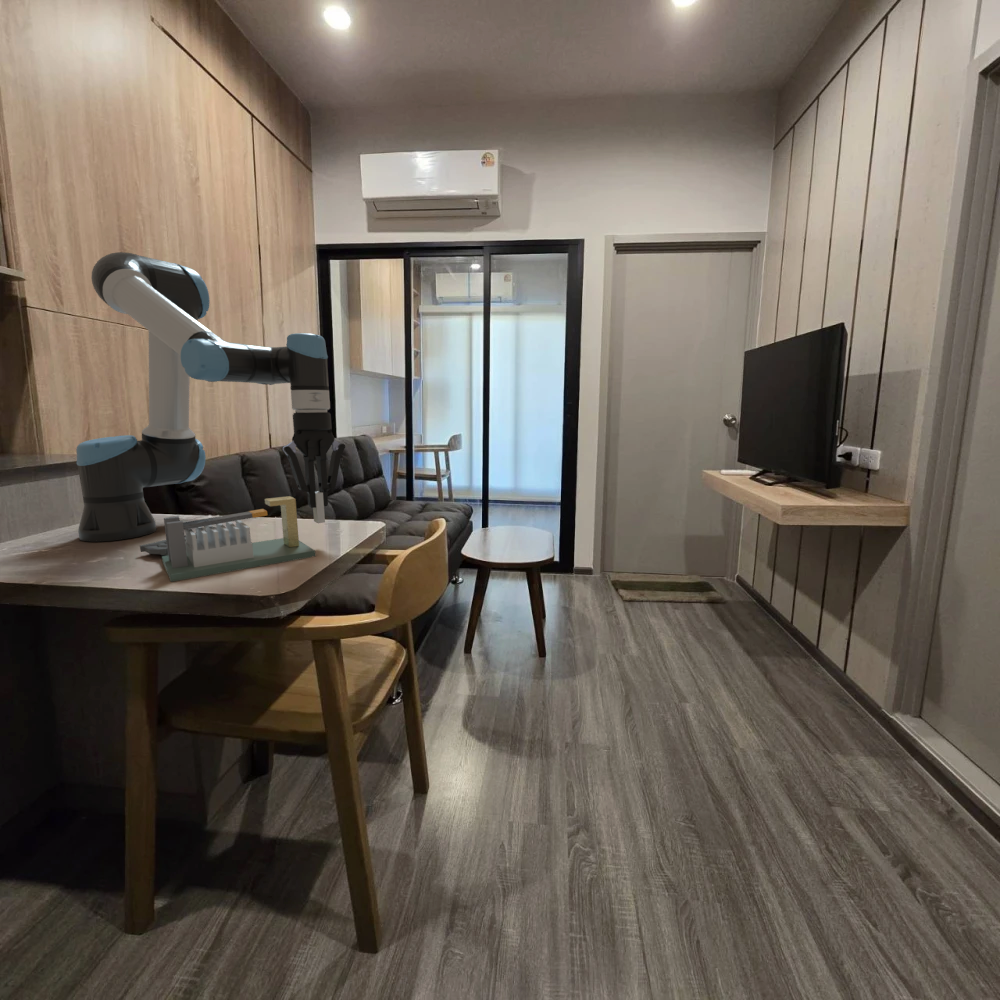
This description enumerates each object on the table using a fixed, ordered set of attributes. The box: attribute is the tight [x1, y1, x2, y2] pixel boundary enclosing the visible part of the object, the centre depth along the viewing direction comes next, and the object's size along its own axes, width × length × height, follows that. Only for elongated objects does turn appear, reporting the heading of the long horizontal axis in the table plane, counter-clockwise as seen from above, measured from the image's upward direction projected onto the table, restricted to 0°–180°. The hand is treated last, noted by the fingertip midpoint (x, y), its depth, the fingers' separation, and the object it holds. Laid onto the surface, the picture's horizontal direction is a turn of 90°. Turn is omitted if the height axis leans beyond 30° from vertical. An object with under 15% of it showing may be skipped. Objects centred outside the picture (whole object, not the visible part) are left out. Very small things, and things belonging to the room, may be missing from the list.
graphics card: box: [139, 526, 217, 556], centre depth 112 cm, size 17×4×12 cm
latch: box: [264, 495, 300, 547], centre depth 107 cm, size 4×5×10 cm
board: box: [161, 515, 316, 582], centre depth 103 cm, size 15×25×10 cm, turn 127°
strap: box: [183, 508, 269, 531], centre depth 100 cm, size 3×17×1 cm, turn 127°
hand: (319, 521), depth 112 cm, fingers closed
